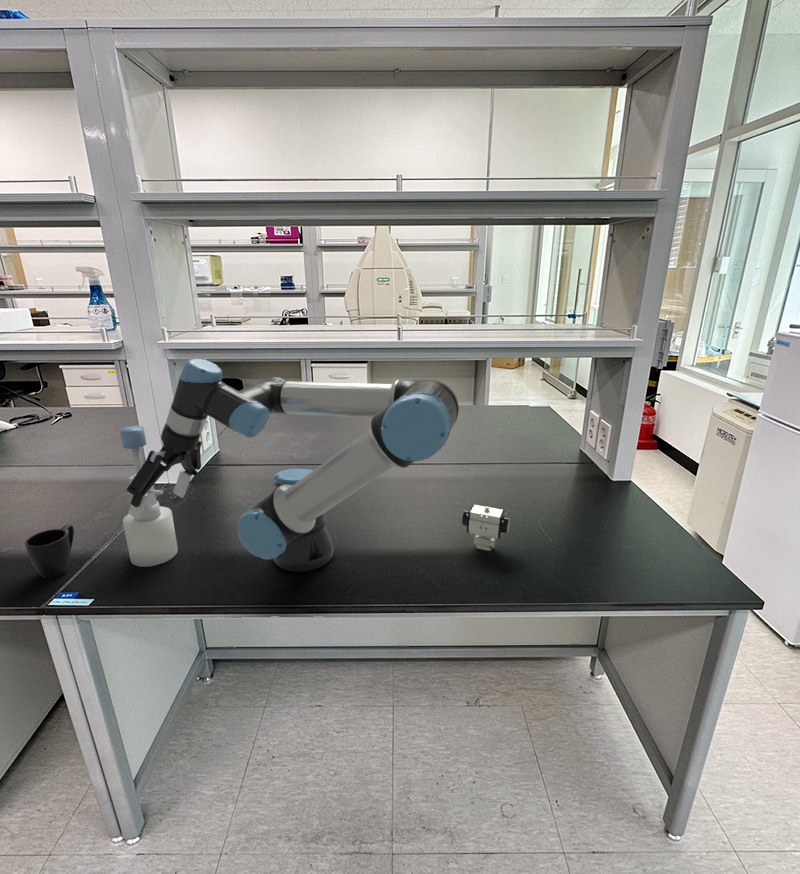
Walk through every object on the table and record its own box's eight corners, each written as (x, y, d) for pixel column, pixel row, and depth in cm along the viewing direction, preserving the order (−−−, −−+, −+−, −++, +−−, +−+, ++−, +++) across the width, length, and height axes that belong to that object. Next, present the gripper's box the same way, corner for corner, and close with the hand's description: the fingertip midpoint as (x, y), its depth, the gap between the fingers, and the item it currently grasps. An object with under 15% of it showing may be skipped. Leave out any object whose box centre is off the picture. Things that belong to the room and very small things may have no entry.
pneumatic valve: (464, 538, 134) (467, 499, 130) (507, 547, 130) (511, 507, 126) (459, 548, 129) (461, 508, 125) (504, 558, 125) (507, 516, 121)
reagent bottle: (186, 545, 130) (174, 468, 123) (161, 568, 120) (146, 487, 112) (148, 541, 131) (134, 466, 124) (120, 564, 121) (103, 483, 114)
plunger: (156, 476, 121) (148, 426, 116) (143, 484, 116) (134, 433, 112) (138, 475, 121) (129, 425, 117) (124, 483, 117) (114, 431, 112)
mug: (93, 555, 125) (86, 522, 122) (58, 583, 114) (49, 547, 111) (63, 553, 126) (55, 520, 123) (25, 581, 114) (15, 545, 111)
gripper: (207, 408, 117) (182, 479, 125) (123, 431, 94) (98, 516, 101) (232, 424, 116) (206, 494, 124) (153, 450, 93) (126, 535, 100)
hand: (157, 504), depth 112 cm, fingers open, 13 cm apart
